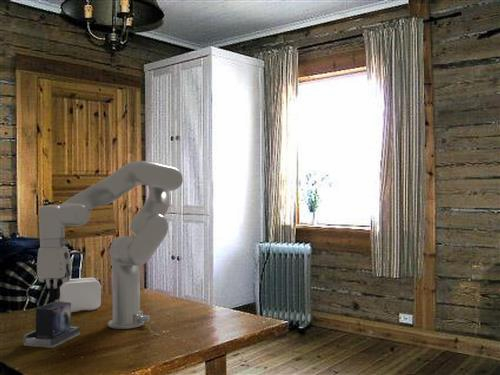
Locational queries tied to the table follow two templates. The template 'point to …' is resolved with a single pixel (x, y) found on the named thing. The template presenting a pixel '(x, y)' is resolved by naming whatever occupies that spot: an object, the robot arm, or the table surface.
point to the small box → (53, 319)
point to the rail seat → (50, 343)
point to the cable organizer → (81, 294)
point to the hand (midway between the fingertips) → (54, 299)
